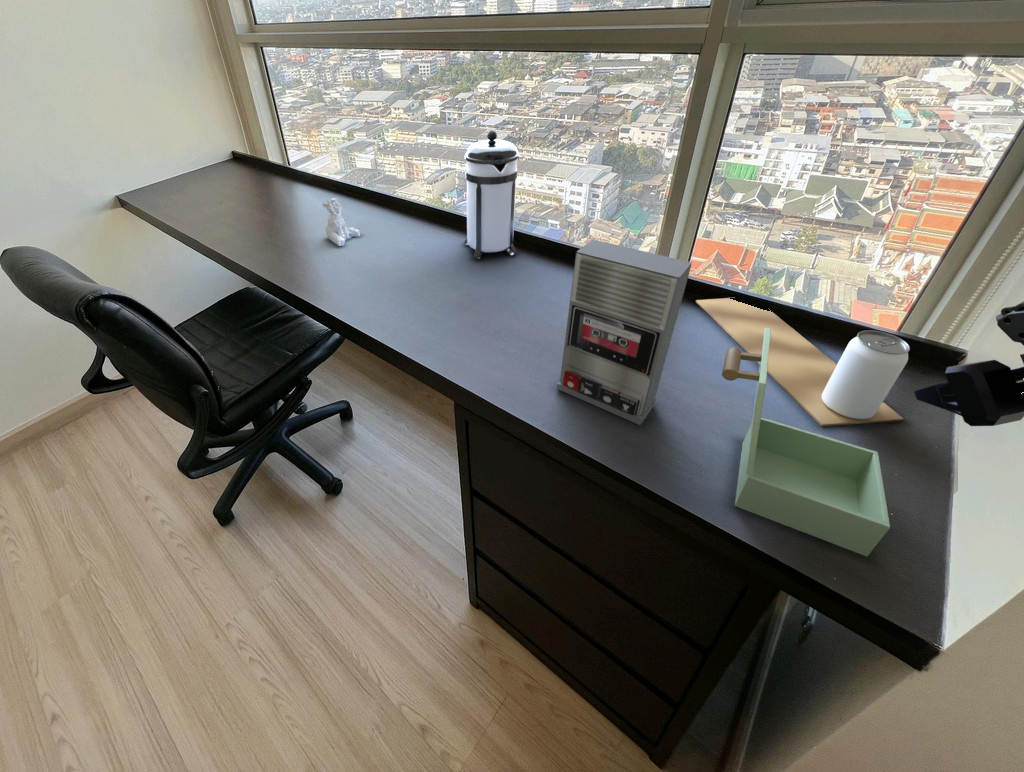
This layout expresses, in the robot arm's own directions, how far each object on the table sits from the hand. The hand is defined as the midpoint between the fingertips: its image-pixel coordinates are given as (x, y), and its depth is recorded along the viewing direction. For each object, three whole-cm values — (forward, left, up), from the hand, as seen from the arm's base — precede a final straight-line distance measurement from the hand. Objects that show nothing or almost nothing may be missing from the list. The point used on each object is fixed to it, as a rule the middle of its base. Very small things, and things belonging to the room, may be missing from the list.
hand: (948, 388), depth 58 cm
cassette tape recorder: (+37, +7, -13) cm, 40 cm away
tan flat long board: (+14, -20, -12) cm, 27 cm away
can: (+5, -8, -12) cm, 16 cm away
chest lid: (+19, +13, 0) cm, 23 cm away
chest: (+11, +13, -12) cm, 21 cm away
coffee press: (+80, -37, -13) cm, 89 cm away
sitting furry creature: (+121, -24, -13) cm, 124 cm away
